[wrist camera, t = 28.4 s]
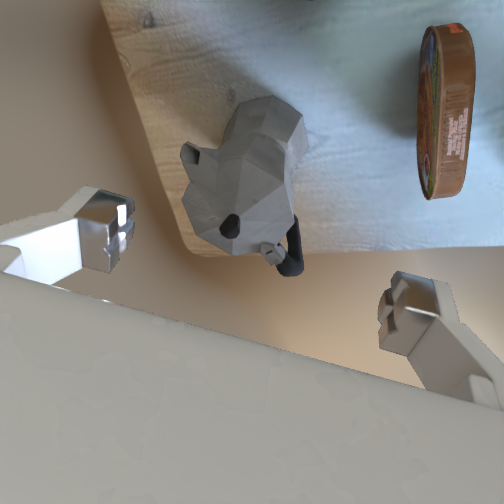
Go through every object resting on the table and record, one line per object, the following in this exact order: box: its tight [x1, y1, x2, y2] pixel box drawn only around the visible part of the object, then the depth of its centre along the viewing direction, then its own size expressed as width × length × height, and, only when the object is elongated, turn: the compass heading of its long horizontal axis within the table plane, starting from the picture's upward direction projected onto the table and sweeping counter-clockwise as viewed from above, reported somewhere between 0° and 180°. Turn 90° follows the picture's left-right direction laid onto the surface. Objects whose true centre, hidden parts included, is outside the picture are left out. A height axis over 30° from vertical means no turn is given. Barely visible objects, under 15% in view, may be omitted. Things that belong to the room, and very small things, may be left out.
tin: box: [417, 23, 476, 200], centre depth 37 cm, size 15×3×8 cm, turn 11°
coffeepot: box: [180, 96, 309, 277], centre depth 39 cm, size 15×9×18 cm, turn 39°
